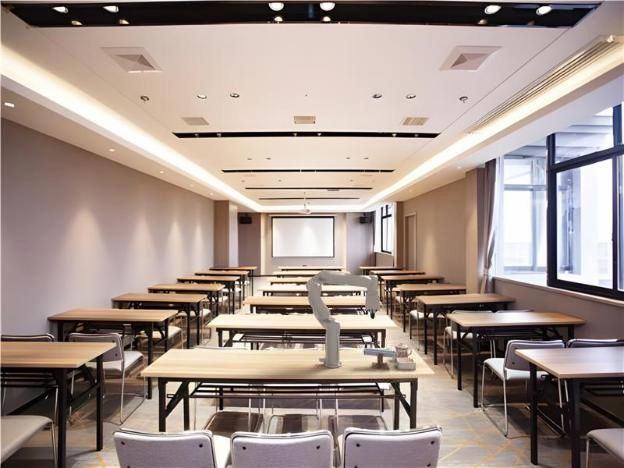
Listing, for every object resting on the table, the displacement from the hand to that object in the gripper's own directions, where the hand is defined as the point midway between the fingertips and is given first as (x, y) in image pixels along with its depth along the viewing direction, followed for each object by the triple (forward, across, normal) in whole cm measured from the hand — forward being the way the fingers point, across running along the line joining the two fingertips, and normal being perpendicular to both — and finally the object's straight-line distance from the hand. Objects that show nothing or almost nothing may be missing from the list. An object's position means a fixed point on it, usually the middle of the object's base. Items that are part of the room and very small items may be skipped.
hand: (372, 318), depth 256 cm
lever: (+22, +4, -9) cm, 24 cm away
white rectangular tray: (+29, +21, -12) cm, 38 cm away
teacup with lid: (+29, +22, +4) cm, 37 cm away
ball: (+27, +23, -12) cm, 37 cm away
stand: (+29, +4, -12) cm, 32 cm away
